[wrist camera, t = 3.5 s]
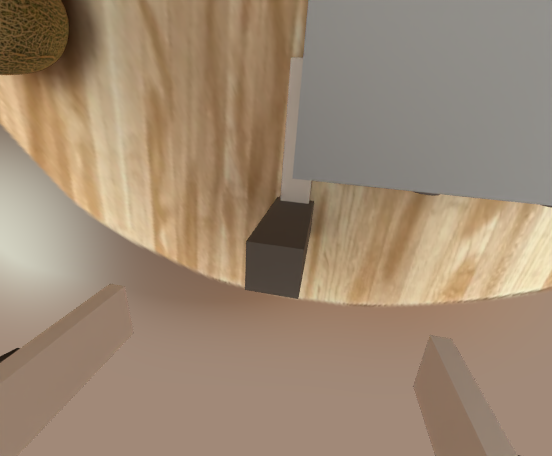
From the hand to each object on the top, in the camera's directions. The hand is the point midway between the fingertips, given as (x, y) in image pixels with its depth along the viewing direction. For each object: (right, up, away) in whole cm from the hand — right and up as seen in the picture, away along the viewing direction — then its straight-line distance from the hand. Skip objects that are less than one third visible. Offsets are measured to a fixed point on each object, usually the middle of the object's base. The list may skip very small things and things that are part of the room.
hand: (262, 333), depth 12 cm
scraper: (+3, +12, +16) cm, 20 cm away
